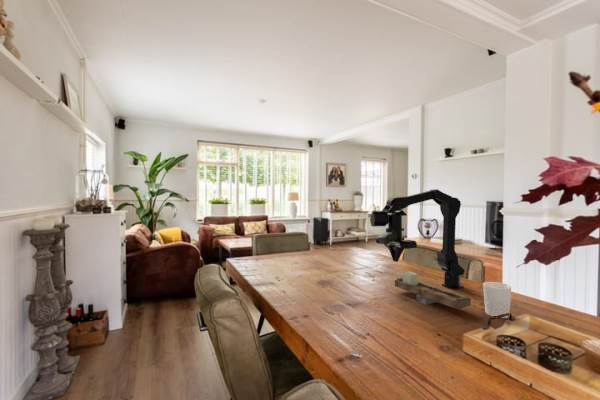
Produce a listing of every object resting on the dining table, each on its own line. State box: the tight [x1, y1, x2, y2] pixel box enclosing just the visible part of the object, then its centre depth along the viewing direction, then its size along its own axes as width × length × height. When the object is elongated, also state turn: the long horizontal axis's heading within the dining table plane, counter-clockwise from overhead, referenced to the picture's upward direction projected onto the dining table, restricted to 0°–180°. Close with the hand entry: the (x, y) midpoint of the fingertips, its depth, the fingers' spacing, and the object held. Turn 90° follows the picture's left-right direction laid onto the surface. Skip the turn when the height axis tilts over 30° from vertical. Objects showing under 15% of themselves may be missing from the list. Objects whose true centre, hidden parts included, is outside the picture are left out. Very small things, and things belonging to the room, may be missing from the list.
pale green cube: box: [401, 271, 419, 286], centre depth 116 cm, size 4×4×4 cm
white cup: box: [482, 281, 512, 319], centre depth 95 cm, size 8×8×10 cm
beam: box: [394, 277, 472, 310], centre depth 108 cm, size 28×9×6 cm, turn 27°
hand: (395, 261), depth 123 cm, fingers closed
